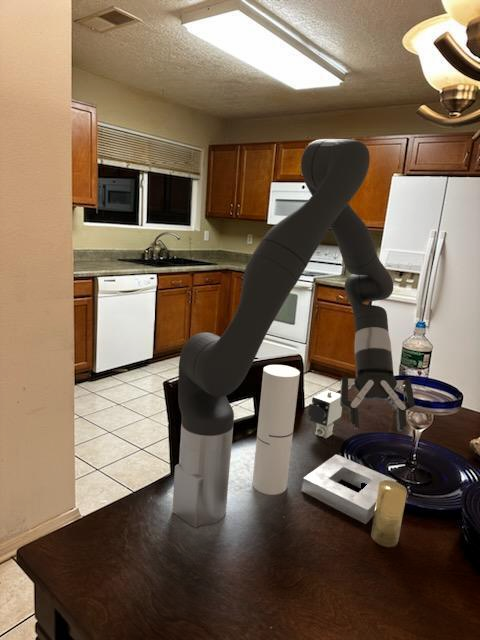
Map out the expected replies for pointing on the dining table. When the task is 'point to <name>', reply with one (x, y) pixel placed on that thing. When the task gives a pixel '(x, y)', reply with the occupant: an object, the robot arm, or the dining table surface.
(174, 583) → the dining table surface
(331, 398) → the pneumatic valve
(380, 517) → the tan piece
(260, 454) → the cylindrical container
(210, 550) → the dining table surface
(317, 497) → the frame
